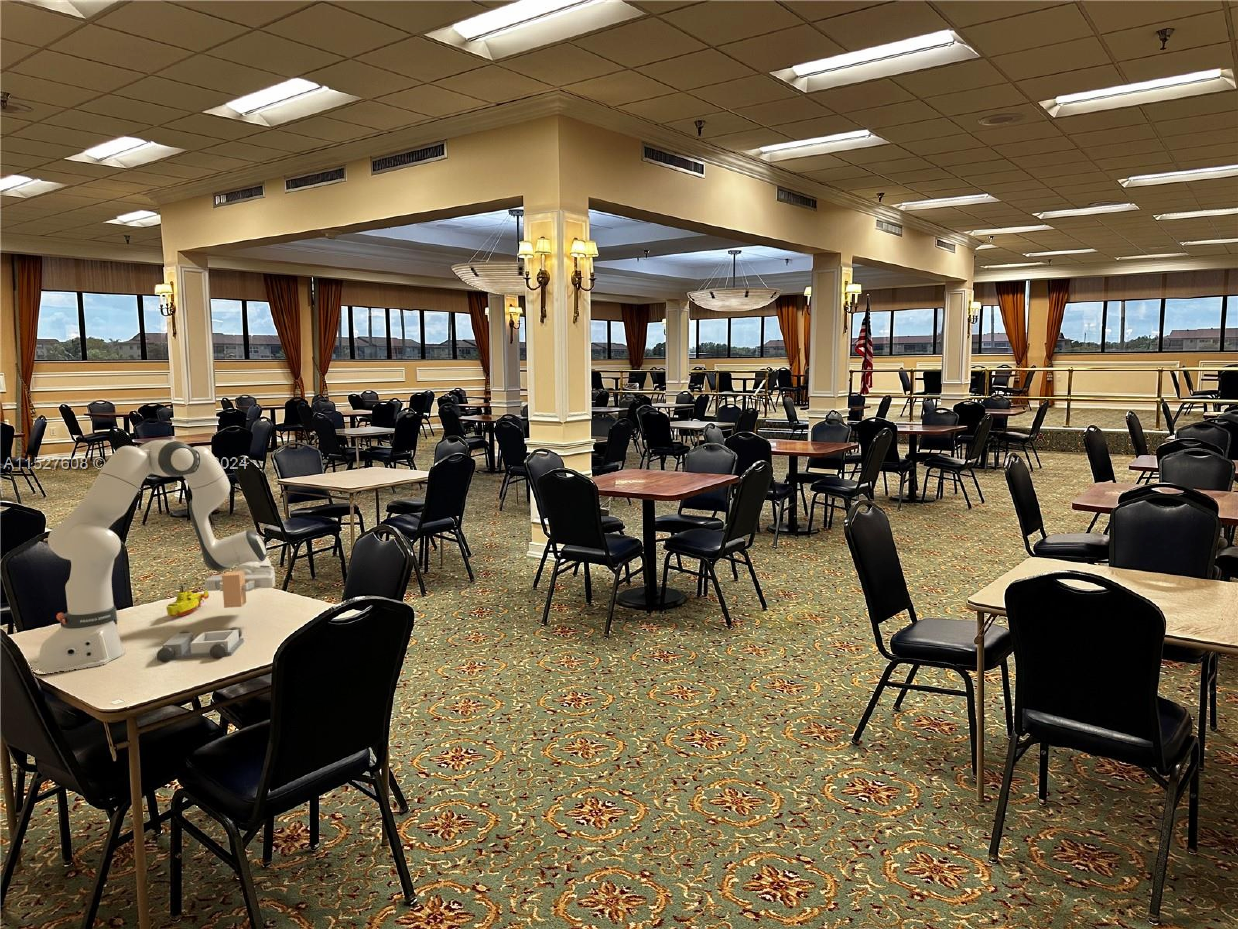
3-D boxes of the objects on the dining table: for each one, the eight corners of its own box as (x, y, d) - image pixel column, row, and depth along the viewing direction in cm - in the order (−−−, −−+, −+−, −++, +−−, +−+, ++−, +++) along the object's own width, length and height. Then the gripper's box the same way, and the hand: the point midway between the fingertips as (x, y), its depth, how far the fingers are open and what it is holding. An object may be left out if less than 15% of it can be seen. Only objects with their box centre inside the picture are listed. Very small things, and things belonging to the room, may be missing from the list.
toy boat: (211, 605, 286) (208, 577, 285) (178, 622, 269) (175, 592, 267) (193, 605, 287) (191, 577, 286) (160, 621, 269) (157, 592, 268)
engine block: (224, 607, 252) (221, 575, 251) (229, 603, 257) (227, 571, 256) (241, 606, 253) (239, 574, 251) (246, 602, 257) (244, 571, 256)
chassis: (153, 663, 231) (152, 649, 231) (175, 644, 247) (174, 631, 246) (228, 657, 234) (227, 644, 234) (245, 639, 250) (244, 626, 249)
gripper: (212, 569, 265) (196, 579, 251) (278, 566, 268) (267, 576, 254) (213, 588, 266) (198, 600, 252) (280, 585, 268) (268, 596, 255)
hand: (233, 588), depth 253 cm, fingers closed on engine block, 5 cm apart
